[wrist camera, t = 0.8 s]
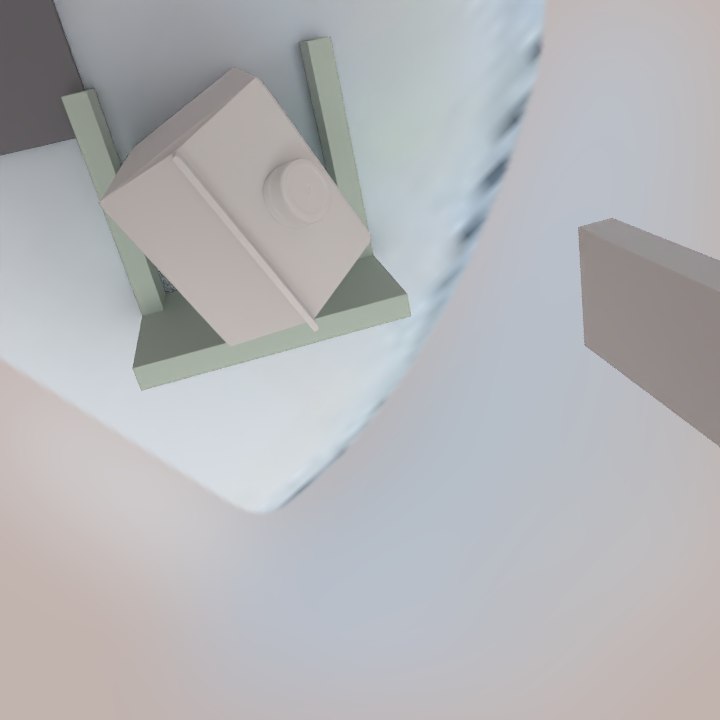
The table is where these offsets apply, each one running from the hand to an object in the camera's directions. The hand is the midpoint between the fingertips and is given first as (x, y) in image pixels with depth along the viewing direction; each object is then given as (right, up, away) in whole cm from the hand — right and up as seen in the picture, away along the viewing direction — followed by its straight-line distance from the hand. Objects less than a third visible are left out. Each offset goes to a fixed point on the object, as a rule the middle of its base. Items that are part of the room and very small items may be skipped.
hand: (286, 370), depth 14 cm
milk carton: (-6, +11, +25) cm, 28 cm away
